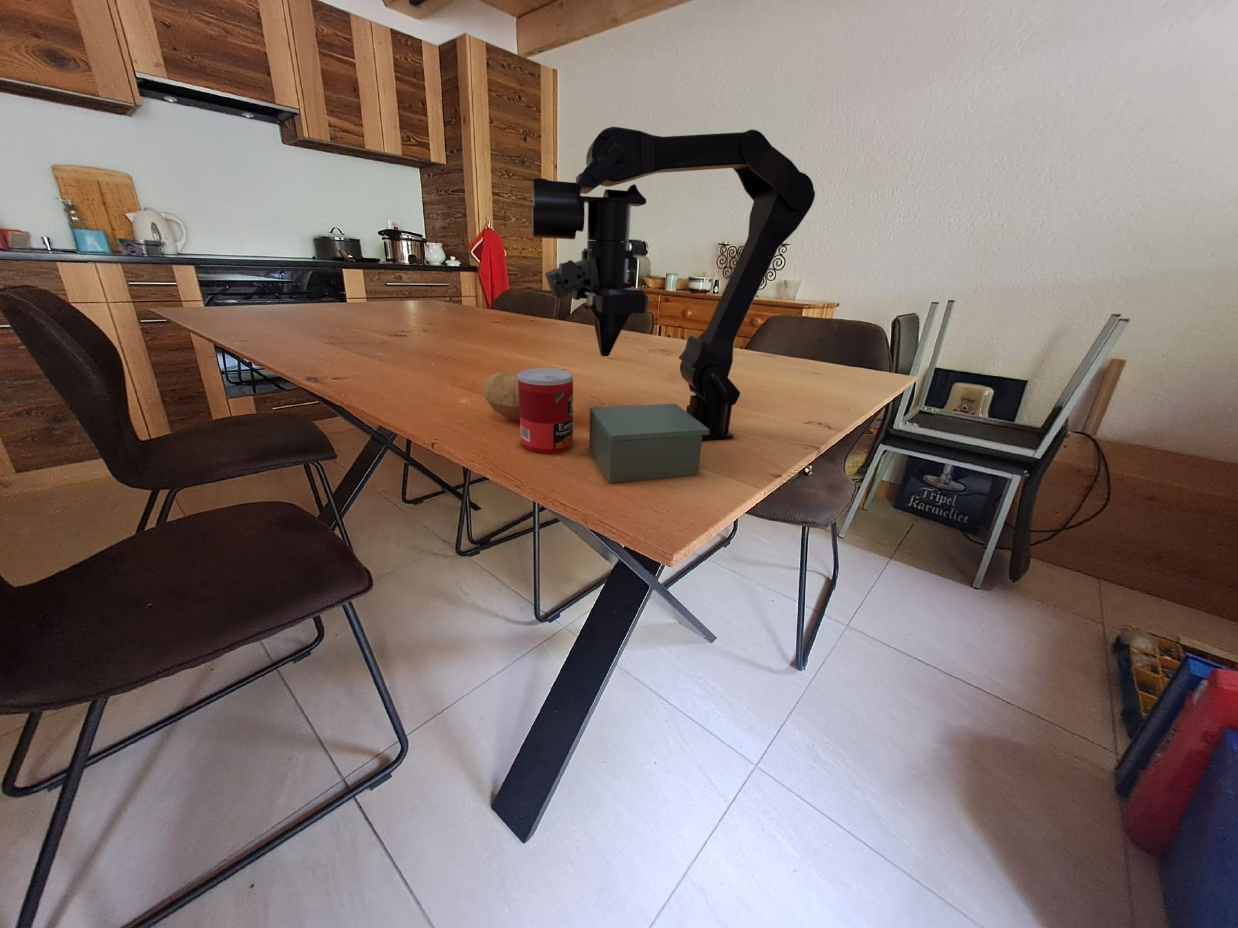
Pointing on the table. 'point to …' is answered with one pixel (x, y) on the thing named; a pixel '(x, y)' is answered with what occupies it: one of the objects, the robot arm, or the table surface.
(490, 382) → the potato
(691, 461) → the chest
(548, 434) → the canned food
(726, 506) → the table surface
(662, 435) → the lid
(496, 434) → the table surface
